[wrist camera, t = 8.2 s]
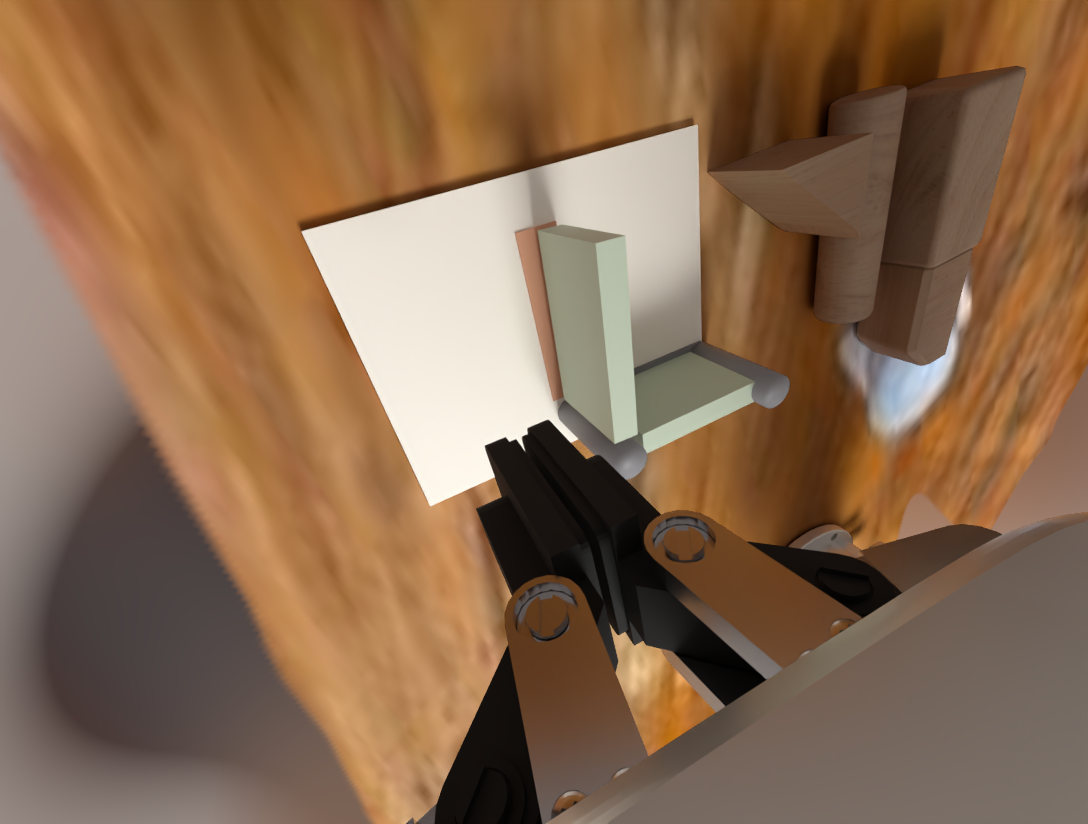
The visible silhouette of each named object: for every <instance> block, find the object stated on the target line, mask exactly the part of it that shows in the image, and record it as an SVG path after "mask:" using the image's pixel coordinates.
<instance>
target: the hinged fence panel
mask: <svg viewBox="0 0 1088 824" xmlns="http://www.w3.org/2000/svg"><path fill="white" fill-rule="evenodd" d="M538 237H539V243H540V250H541V256H542V262H543V269H544V275H545V281H546V288H547V294H548V300H549V307H550V313H551V319H552V326H553V332H554V338H555V345H556V351H557V357H558V364H559V370H560V376H561V383H562V389H563V395H564V400H566V401H567V402H568V403H569V404H570V405H571V406H572V407H574V408H575V409H576V410H577V411H578V412H579V413H580V414H581V415H583V416H584V417H585V418H586V419H587V420H588V421H589V422H590V423H592V424H593V425H594V426H595V427H596V428H597V429H598V430H600V431H601V432H602V433H603V434H604V435H605V436H606V437H607V438H609V439H610V440H611V441H612V442H613V443H614V444H616V443H618V442H621V441H623V440H626V439H628V438H630V437H633V436H635V435H638V430H637V414H636V398H635V382H634V366H633V350H632V334H631V318H630V302H629V286H628V270H627V254H626V238H625V235H620V234H614V233H608V232H603V231H597V230H591V229H586V228H580V227H574V226H569V225H563V224H562V225H558V226H554V227H550V228H546V229H542V230H538Z"/></svg>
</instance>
